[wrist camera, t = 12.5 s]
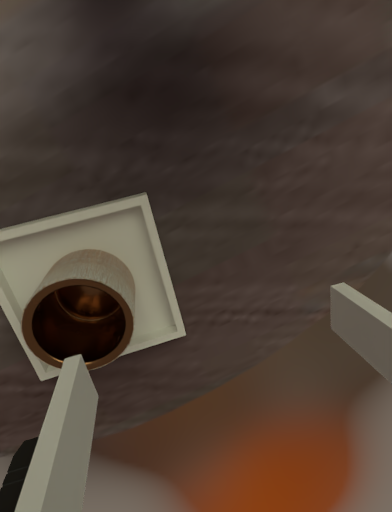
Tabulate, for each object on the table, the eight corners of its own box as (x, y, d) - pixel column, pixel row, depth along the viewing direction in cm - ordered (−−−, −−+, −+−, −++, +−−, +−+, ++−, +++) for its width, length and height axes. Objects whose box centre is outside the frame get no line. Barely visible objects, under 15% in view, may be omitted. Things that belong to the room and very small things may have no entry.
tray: (-24, 235, 34) (-35, 240, 32) (145, 192, 36) (146, 194, 34) (45, 368, 41) (40, 381, 39) (183, 325, 43) (186, 335, 41)
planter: (36, 253, 35) (4, 286, 26) (128, 241, 37) (127, 268, 28) (57, 330, 39) (35, 382, 30) (140, 316, 41) (142, 361, 32)
